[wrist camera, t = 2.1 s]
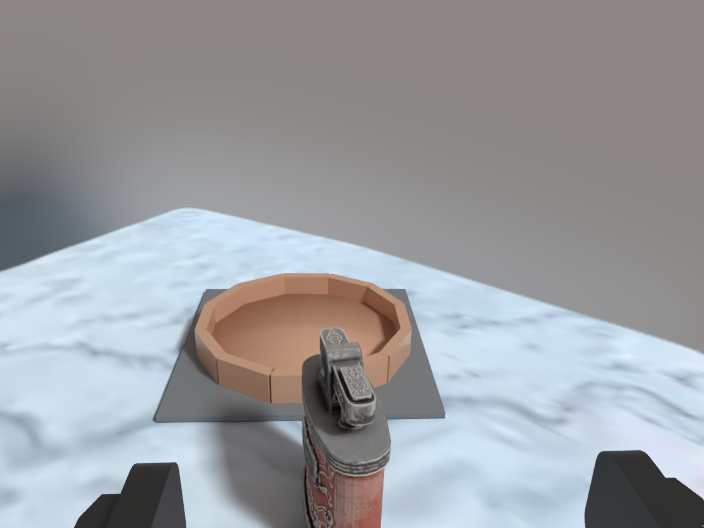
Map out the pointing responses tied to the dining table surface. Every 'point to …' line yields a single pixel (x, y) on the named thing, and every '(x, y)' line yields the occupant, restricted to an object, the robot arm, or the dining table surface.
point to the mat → (228, 405)
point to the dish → (297, 331)
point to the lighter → (342, 438)
